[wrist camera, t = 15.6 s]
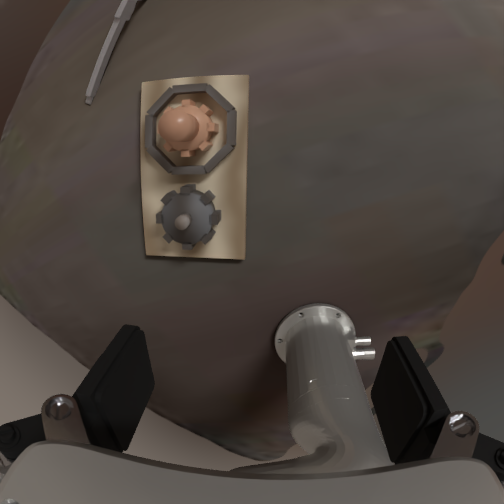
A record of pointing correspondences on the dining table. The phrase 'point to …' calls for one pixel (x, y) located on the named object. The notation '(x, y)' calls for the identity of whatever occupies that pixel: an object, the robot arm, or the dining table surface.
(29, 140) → the dining table surface
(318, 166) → the dining table surface
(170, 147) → the planet gear
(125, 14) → the caliper
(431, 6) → the dining table surface
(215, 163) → the carrier
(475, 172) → the dining table surface
